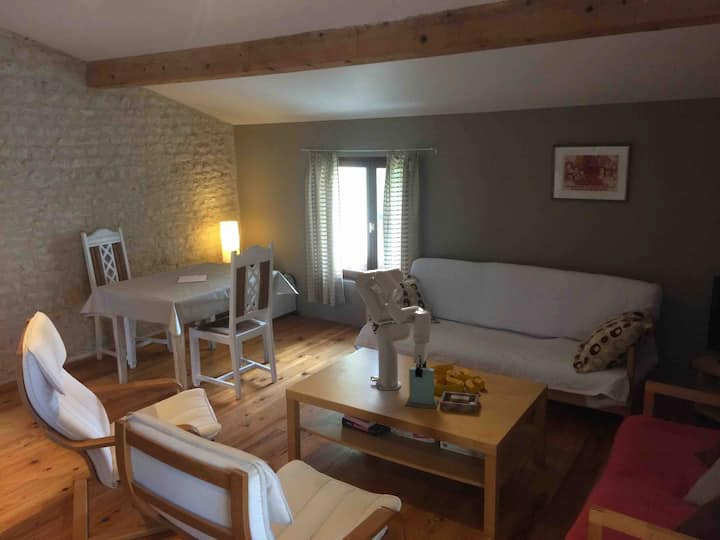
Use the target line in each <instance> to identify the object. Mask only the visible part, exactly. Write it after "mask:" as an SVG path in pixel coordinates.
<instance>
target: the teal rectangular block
mask: <svg viewBox="0 0 720 540" xmlns="http://www.w3.org/2000/svg"><path fill="white" fill-rule="evenodd" d="M415 368H416V366H410V367H409V369H408V370H409V371H408V372H409V373H408V374H409V375H408V377H409V378H408V379H409V381H408V387H409V389H408V391H409V397H408V398H409V402H415V403H425V404H433V403H434V399H435V394H434V369H430V368H431V367H429V368H428V367H426V368H422V369H423V373H422V378H420V377H415Z"/></svg>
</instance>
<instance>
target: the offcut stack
mask: <svg viewBox="0 0 720 540" xmlns="http://www.w3.org/2000/svg"><path fill="white" fill-rule="evenodd" d="M449 402H453V403H463V404H474V402H469V397H467V396H456V395H452V396H451V400H450V401H449Z"/></svg>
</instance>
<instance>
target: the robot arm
mask: <svg viewBox="0 0 720 540" xmlns="http://www.w3.org/2000/svg"><path fill="white" fill-rule="evenodd" d="M403 281H404V275H403V272H402V271H401V269H399V268H398V267H389V268H378V269H373V270H372V269H371V270H366V271H362V272H359V274H357V276H356V277H355V288H356V291H357V293H358V294H359V296H360V297H361V299H362V301H363V302H364V304H365V306H366V309H367V312H368V313H369V315H370V318H371V320H372V321H373V323H374V324H375V325H380V326H378V327H377V329H376V331H375V336H376V342H377V350H378V351H377V352H378V353H377V354H378V359H377V360H378V375H377V376H374V375H371V376H370V380H371V382H376V383H375V386H376V387H375V388H377V389H379V390H382V391H395V390H398V389H400V388H401V387H402V382H401V381H399V366H398V365H399V357H398V356H399V355H398V349H397V347H396V346H395V343H398V342H404V341H406V340H408V339H409V338H410V337H411V329H410V324H413V335H412V336H413V339H412V340H413V342H414V348H413V360H412V361H413V364H415V367H416V368H415V377H420V378H422V373H423V369H422V368H427V358H428V349H429V348H428V344H429V343H430V342H431V323H432V322H431V320H432V317H431V315H432V314H431V312H429V311H428V310H424V309H423V308H422V307H420V306H418V305H413V306H408V307H403V308H401V306H399V304H398V303H397V301H399V300H400V299H401V297H402V296H403V295H404V288H403V287H402V286H401V285H400V284H403ZM376 287H378V288H379V289H380V290H381V292H383V294H384V295H385V297H386V298H387V303H385V302H384V301H383V300H382V297H381V295H380V294H379V292H377V290H375V289H373V288H376Z"/></svg>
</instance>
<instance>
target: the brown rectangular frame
mask: <svg viewBox="0 0 720 540" xmlns="http://www.w3.org/2000/svg"><path fill="white" fill-rule="evenodd" d="M452 395H456V396H467V397H469V401H471V402H474V404H463V403H453V402H450V401H447V399H449V400H451V396H452ZM478 404H479V394H477V393H473V394H471V393H469V392H467V393H466V392H463V393H457V392H446V391H444V393H443V395H441V399H439V410H440V409H441V410H442V411H450V410H451V412H461V413H462V412H463V413H472V414H476V412H477V410H478V409H477V408H478ZM476 409H477V410H476Z"/></svg>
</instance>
